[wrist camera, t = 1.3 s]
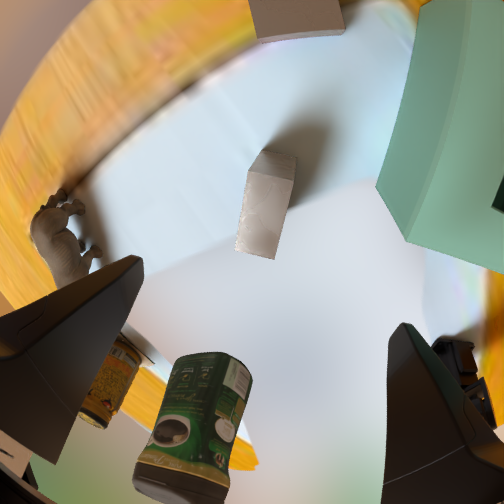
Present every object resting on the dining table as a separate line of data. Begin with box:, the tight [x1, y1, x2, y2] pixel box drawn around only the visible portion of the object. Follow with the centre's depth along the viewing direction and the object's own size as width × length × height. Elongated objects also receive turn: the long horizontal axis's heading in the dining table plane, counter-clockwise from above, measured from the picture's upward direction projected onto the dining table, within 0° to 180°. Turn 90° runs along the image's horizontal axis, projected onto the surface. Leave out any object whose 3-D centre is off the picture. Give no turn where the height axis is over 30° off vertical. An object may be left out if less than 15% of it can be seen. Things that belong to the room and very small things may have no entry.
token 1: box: [248, 0, 345, 44], centre depth 12 cm, size 5×5×2 cm
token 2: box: [235, 150, 297, 259], centre depth 18 cm, size 5×2×5 cm, turn 170°
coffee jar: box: [132, 352, 253, 504], centre depth 26 cm, size 10×8×19 cm
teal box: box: [375, 0, 504, 274], centre depth 11 cm, size 14×12×7 cm
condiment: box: [78, 333, 154, 429], centre depth 31 cm, size 7×8×12 cm
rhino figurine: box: [30, 189, 102, 289], centre depth 24 cm, size 4×14×6 cm, turn 10°
